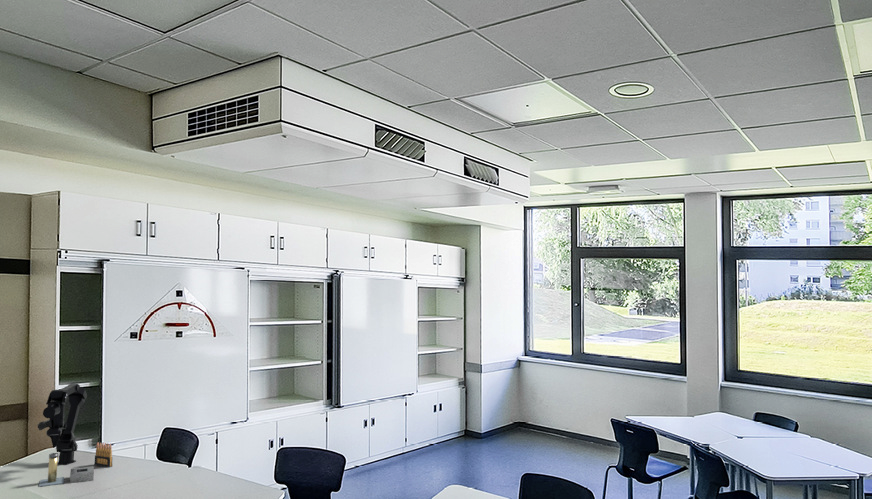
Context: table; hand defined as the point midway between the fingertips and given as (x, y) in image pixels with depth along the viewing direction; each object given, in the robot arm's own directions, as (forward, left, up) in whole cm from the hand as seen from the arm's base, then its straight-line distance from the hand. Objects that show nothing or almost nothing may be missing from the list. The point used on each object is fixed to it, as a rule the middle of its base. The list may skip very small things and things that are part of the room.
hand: (56, 445), depth 323 cm
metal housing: (+4, +23, -13) cm, 27 cm away
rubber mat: (+14, +14, -13) cm, 23 cm away
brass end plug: (+14, +14, -13) cm, 23 cm away
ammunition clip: (-15, +16, -13) cm, 26 cm away
